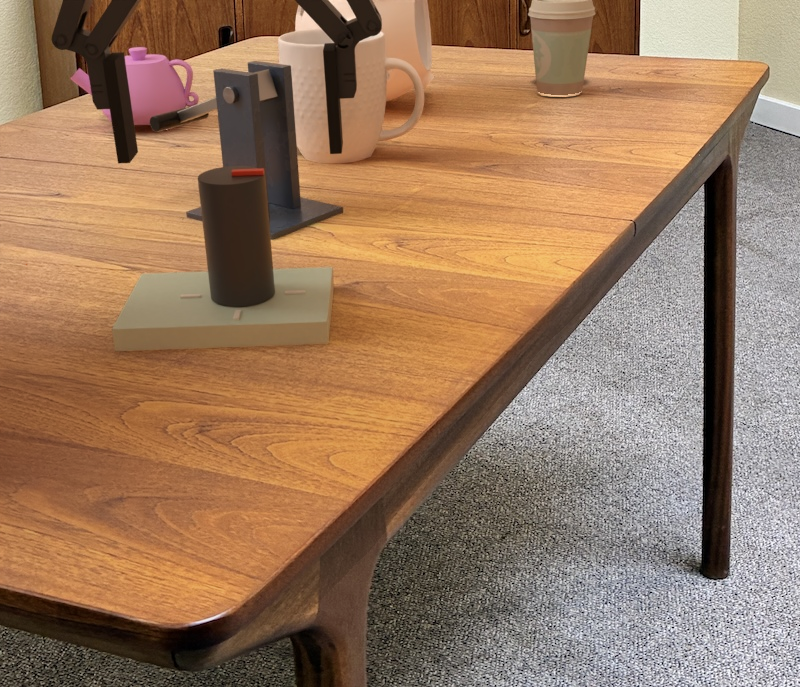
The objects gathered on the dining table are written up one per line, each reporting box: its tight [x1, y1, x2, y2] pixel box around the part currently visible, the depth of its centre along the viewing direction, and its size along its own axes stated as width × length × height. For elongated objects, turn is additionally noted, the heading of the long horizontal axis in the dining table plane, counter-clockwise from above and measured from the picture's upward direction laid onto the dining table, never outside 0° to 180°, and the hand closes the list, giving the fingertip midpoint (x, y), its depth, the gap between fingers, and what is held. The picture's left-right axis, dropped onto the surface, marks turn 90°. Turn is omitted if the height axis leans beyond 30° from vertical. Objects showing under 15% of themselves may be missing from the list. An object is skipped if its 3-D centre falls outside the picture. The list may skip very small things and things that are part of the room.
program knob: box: [197, 166, 275, 307], centre depth 74 cm, size 4×4×9 cm
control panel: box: [111, 266, 335, 352], centre depth 77 cm, size 14×10×3 cm
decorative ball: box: [294, 0, 435, 103], centre depth 137 cm, size 20×17×20 cm
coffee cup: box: [527, 0, 596, 95], centre depth 142 cm, size 8×9×12 cm
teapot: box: [69, 46, 200, 126], centre depth 134 cm, size 10×15×9 cm
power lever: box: [149, 69, 278, 133], centre depth 99 cm, size 13×6×2 cm, turn 51°
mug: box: [277, 28, 425, 165], centre depth 116 cm, size 15×11×13 cm
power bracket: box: [185, 60, 344, 241], centre depth 97 cm, size 11×9×14 cm
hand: (232, 153), depth 72 cm, fingers open, 13 cm apart
